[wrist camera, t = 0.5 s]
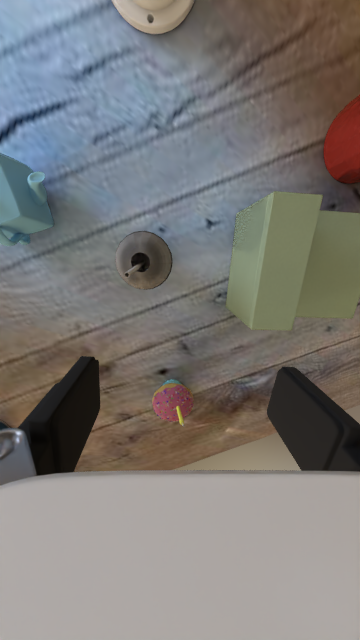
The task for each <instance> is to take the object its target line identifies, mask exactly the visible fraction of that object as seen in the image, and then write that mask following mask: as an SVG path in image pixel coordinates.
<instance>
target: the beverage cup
mask: <svg viewBox="0 0 360 640" xmlns="http://www.w3.org/2000/svg"><path fill="white" fill-rule="evenodd" d="M115 262H116V266H117V270H118V272H119V274H120V276H121V277H122V278H123V279H124V280H125V281H126V282H127V283H128V284H130V285H132V286H133V287H135V288H139V289H144V290H145V289H153V288H155V287H157V286H159V285H161V284H162V283H163V282H164V281H165V280H166V279H167V278H168V276H169V274H170V272H171V268H172V255H171V252H170V249H169V247H168V245H167V244H166V243H165V241H164V240H163V239H162V238H161V237H159V236H157V235H156V234H154V233H151V232H147V231H139V232H134V233H132V234H130V235H128V236H126V237H125V238H124V239H123V240H122V241H121V242H120V244H119V247H118V249H117V251H116V259H115Z"/></svg>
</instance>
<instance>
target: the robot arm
mask: <svg viewBox="0 0 360 640" xmlns="http://www.w3.org/2000/svg"><path fill="white" fill-rule="evenodd" d="M112 2H113V4H114V6H115V7H116V9H117V10H118V12H119V13H120V14H121V16H122V17H123V18H124V19H125V20H126V21H127V22H128V23H129V24H131V25H132V26H133V27H135V28H136V29H138V30H140V31H143V32H145V33H150V34H162V33H165V32H168V31H171V30H172V29H174V28H175V27H177V26H178V25H179V24H180V23H181V22H182V21H183V20H184V19H185V17H186V16H187V14H188V13H189V11H190V10H191V8H192V5H193V3H194V0H112ZM99 409H100V387H99V362H98V360H95V358H94V357H86V356H81V357H80V358H79V360H78V361H77V362H76V363H75V364H74V366H73V367H72V368H71V369H70V370H69V372H68V373H67V374H66V375H65V376H64V378H63V379H62V380H61V381H60V383H57V384H55V385H54V386H53V387H52V389H51V390H50V391H49V392H48V393H47V394H46V396H45V397H44V398H43V399H42V400H41V401H40V403H39V404H38V405H37V406H36V407H35V408H34V410H33V411H32V412H31V413H30V414H29V416H28V417H27V418H26V419H25V420H24V421H23V423H22V424H21V425H20V426H19V427H18V428H7V429H2V430H0V640H360V424H359V423H358V422H357V421H355V420H354V419H353V418H352V417H351V416H350V415H349V414H347V413H346V412H345V411H344V410H343V409H342V408H341V407H340V406H338V405H337V404H336V403H335V402H334V401H333V400H332V399H330V398H329V397H328V396H327V395H326V394H325V393H324V392H323V391H321V390H320V389H319V388H318V387H317V386H316V385H315V384H313V383H312V382H311V381H310V380H309V379H308V378H307V377H305V376H304V375H303V374H302V373H301V372H300V371H299V370H298V369H296V368H295V367H282V368H281V369H280V370H279V371H278V373H277V377H276V380H275V384H274V387H273V391H272V394H271V398H270V401H269V405H268V409H267V415H268V417H269V419H270V421H271V422H272V424H273V426H274V427H275V429H276V430H277V432H278V433H279V435H280V437H281V438H282V440H283V442H284V443H285V445H286V446H287V448H288V450H289V451H290V453H291V454H292V456H293V458H294V459H295V461H296V462H297V464H298V466H299V467H300V469H301V470H302V471H279V470H275V471H273V470H272V471H271V470H265V471H264V470H254V471H253V470H249V471H248V470H193V471H192V470H187V471H186V470H176V471H175V470H168V471H93V472H74V469H75V467H76V465H77V462H78V460H79V458H80V455H81V453H82V451H83V448H84V446H85V444H86V441H87V439H88V437H89V434H90V432H91V429H92V427H93V425H94V422H95V420H96V418H97V415H98V413H99Z"/></svg>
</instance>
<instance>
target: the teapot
mask: <svg viewBox="0 0 360 640" xmlns="http://www.w3.org/2000/svg"><path fill="white" fill-rule="evenodd" d="M44 179H45V174H44V173H43V172H34V171H33V170H32V169H31V168H29V167H28V166H27V165H25V164H23V163H21V162H19V161H17V160H15V159H13V158H11V157H8V156H6V155H3V154H1V153H0V243H1V244H2V245H5V246H13V245H15V244H17V243H18V242H19V243H20V244H23V245H27V244H29V243H30V237H29V235H28V234H32V233H36V232H39V231H42V230H45V229H48V228H50V227H52V226H54V221H53V218H52V215H51V212H50V209H49V206H48V204H47V201H46V200H47V192H46V189H45V187H44V185H43V184H42V181H43V180H44ZM8 238H11V239H10V240H9V239H8Z"/></svg>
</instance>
